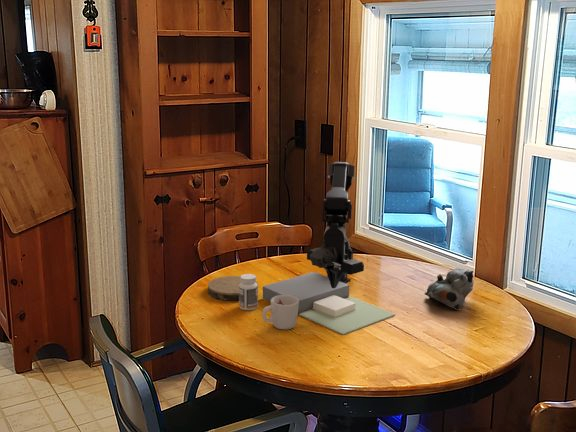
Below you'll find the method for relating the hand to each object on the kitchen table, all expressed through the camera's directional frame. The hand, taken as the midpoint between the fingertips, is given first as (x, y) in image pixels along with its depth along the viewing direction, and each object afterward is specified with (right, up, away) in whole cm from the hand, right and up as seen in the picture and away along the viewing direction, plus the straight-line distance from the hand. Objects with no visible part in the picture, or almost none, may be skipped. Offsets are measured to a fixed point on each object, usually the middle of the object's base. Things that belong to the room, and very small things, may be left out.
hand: (333, 287), depth 207 cm
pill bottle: (-26, -6, +2) cm, 26 cm away
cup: (-16, -10, -12) cm, 22 cm away
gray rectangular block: (-8, -4, +11) cm, 14 cm away
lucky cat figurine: (+36, -6, +8) cm, 37 cm away
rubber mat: (+4, -8, -3) cm, 9 cm away
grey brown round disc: (-31, -3, +14) cm, 34 cm away
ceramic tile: (0, -6, +1) cm, 7 cm away
